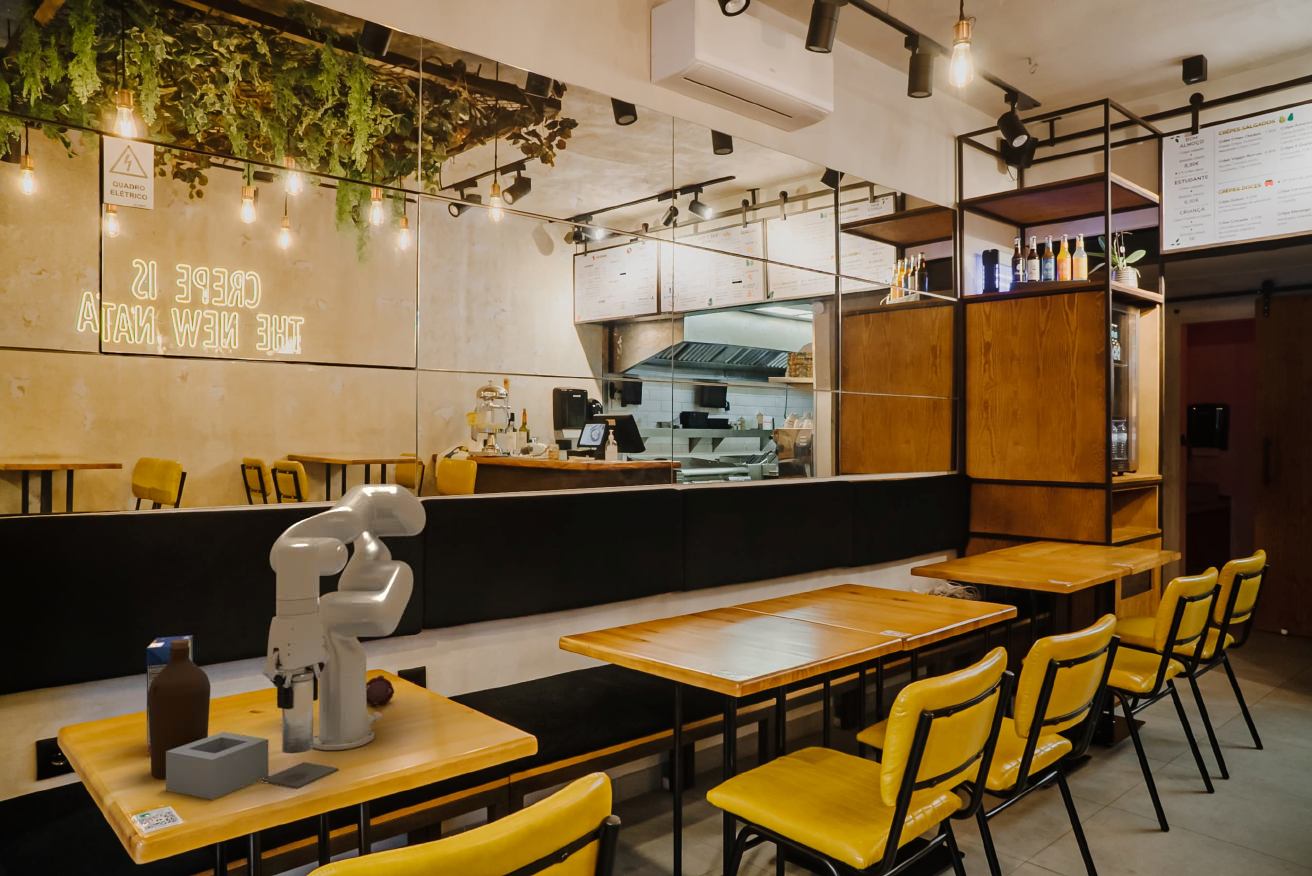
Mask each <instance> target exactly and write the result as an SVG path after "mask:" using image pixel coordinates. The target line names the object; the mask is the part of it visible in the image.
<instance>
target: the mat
mask: <svg viewBox="0 0 1312 876" xmlns="http://www.w3.org/2000/svg"><path fill="white" fill-rule="evenodd" d="M338 771H339V767H335V766H327V765H323V764H315V763H311V762H305V761H303V762H301V763H298V764H296V765H293V766H291V767H288V768H286V769H284V770H282V771H279V772H276V773H275V774H274V773H273V774H272V775H268V777H266V778H264V779H262V780H260V781H263V782H262V783H264V782H268V783H267V784H269V783H273V784H272V785H274V784H278V785H277V786H280V785H282V786H281V787H285V786H286V788H292V789H295V788H296V789H300V788H303V787H304V786H307V785H308V784H312V783H313V782H316V781H318V780H320V779H322V778H325V777H327V776H329V775H332V774H333V773H336V772H338ZM296 789H295V790H296Z"/></svg>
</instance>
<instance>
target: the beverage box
mask: <svg viewBox="0 0 1312 876" xmlns="http://www.w3.org/2000/svg"><path fill="white" fill-rule="evenodd" d="M193 636H194V635H181V636H180V635H179V636H167V637H166V636H165V637H156V638H155V639H154V640H153V641H152V642H151V643H150V645H148V646H147V647H146V758H151V748H150V728H149V710H148V691H149V687H150V684H151V682H152V680H153V679H154V678H155V677H156V676H157V674H158V673H159V672H160V671H161V670H162V669H163V668H164V667H165V666H166V665H167V664H168V663H169V661H170V648H171V645H170V642H171V641H173V640H178V639H188V640H189V647H190V653H189V658H190V660H191V661H192V662H193V663H194V661H193V660H194V659H193V657H194V656H193V654H194V653H193V651H194V650H193V647H194V645H193V643H194V642H193V641H194V639H193Z"/></svg>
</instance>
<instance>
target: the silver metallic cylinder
mask: <svg viewBox="0 0 1312 876" xmlns="http://www.w3.org/2000/svg"><path fill="white" fill-rule="evenodd" d="M284 677H285V673H284V674H283V678H284ZM313 678H314V672H313V671H310V670H300V671H293V674H292V678H291V682H290V685H289V687H292V708H291V709H282V708H281V711H282V714H281V716H282V717H281V721H282V722H281V723H282V725H281V728H282V729H281V742H282V743H281V751H282V753H284V754H291V755H292V754H300V753H305V752H306V753H307V752H308V751H310V750H312V749H313V748H314V747H313V736H314V701H313Z"/></svg>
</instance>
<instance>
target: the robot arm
mask: <svg viewBox="0 0 1312 876" xmlns="http://www.w3.org/2000/svg"><path fill="white" fill-rule="evenodd" d="M426 519H427V517H426V511H425V507H424V506H423V504H422V502H421V501H420V500H419V499H418V498H417V497H416V496H415V495H414V494H413V493H412V492H411V491H410V490H408V489H407V488H406V487H404V486H402V485H400V484H396V483H371V484H370V483H368V484H365V483H364V484H363V483H362V484H359V485H354V486H352V487H351V488H350V489H348V490H347V491H346V492H345V494H344V495H343V496H342V497H340V499H339V500H338V501H337V502H336V503H335V504H334V505H333V506H332V507H331V508H330V509H329V510H326V511H324V512H321V513H318V514H316V515H312V516H311V517H309V518H305V519H303V520H300V521H298V522H296V523H294V524H292V525H291V526H290V527H287V529H285V531H284V532H283V533H281V535H279V537H278V538H277V539H276V541H275V542H274V544H273V546H272V548H271V551H270V554H269V564H270V566H271V569H272V570H273V571H274V572H275V574H276V579H275V581H276V583H275V584H276V585H275V586H276V587H275V588H276V592H275V593H276V595H275V596H276V598H275V599H276V602H275V605H276V609H275V614H276V616H273V617H272V620H271V623H270V627H269V633H268V634H269V635H268V643H267V654H266V655H267V661H266V662H267V663H266V666H265V667H264V669H263V670H262V675H263V676H265V677H266V678H267V679H269V681H270V682H271V683H272V684H273V686H274V687H275V688H276V689H277V690H276V708H278V709H281V710H282V709H291V708H292V687H289V685H290V682H291V678H292V674H293V671H294V670H297V669H301V668H304V670H310V671H313V672H314V678H313V702H315V701H318V733H317V734H315V735H313V748H314V749H317V750H320V751H321V750H323V751H340V750H343V751H344V750H349V749H354V748H358V747H360V746H361V747H362V746H364V745H366V744H368V743H370V742H372V741H373V740H374V738H375V731H374V730H373V729H371V728H370V726H371V725H372V724H373V723H376V722H379V721H381V720H382V713H381V712H379V711H376V712H374V713H371V714H370V713H367V702H366V683H367V656H366V651H365V649H364V647H363V646H362V643H360V641H359V640H358V637H361V638H362V637H363V638H365V637H366V638H368V637H369V638H370V637H371V638H374V637H386V636H389V635H391V634H392V633H393V632H394V631H395V630H396V629H397V626H399V623H400V620H401V618H402V616H403V615H404V611H405V609H406V607H407V604H408V603H409V601H410V599H411V595H412V592H413V587H414V575H413V574H414V573H413V570H412V568H411V567H410V565H409V564H407V563H406V562H404V561H402V560H392V555H391V552H390V550H389V548H388V546H386V544H385V543H384V542H383V541H382V540H381V539H380V538H379V537H411V536H412V537H413V536H416V535H418V534H420V533H421V532H422V531H423V529H424V528H425V526H426ZM350 543H353V547H354V548H353V549H354V552H353V554H352V555H351V558H350V559H349V561H348V558H349V551H348V548H347V546H346V545H348V544H350ZM346 564H347V565H346ZM345 566H346V567H345ZM343 569H344V570H343ZM342 570H343V572H342V573H341V576H340V578H339V580H338V585H337V590H338V591H332V592H331V591H330V592H327V593H326V594H325V593H324V594H323V595H322V596H320V576H321V577H322V576H323V577H324V576H334V575H336V574H339V572H341V571H342ZM284 673H285V677H284V678H283V674H284Z"/></svg>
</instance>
